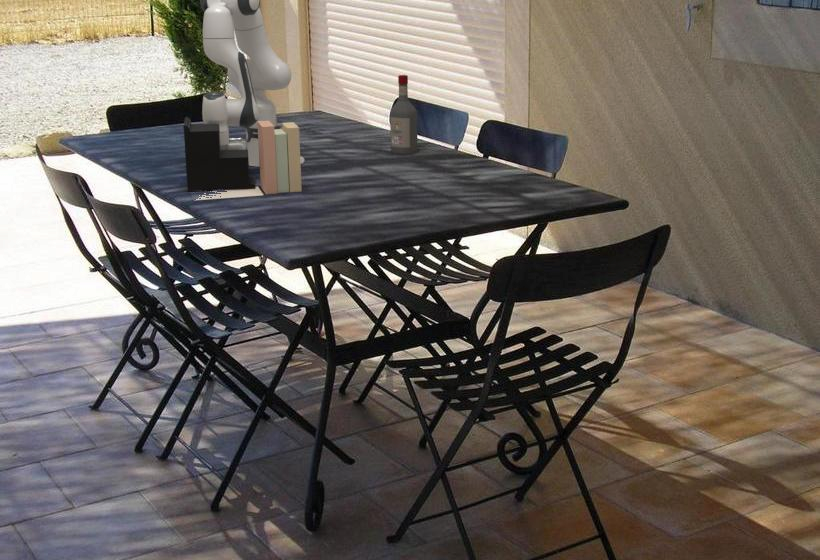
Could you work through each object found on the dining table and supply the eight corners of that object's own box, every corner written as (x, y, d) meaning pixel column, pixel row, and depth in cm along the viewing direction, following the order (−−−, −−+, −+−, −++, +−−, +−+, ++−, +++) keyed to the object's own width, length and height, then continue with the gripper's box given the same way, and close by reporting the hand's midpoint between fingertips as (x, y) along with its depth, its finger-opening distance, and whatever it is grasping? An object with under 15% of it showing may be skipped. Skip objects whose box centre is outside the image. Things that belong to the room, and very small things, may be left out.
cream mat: (257, 187, 424) (257, 186, 424) (264, 196, 411) (263, 195, 411) (188, 192, 418) (188, 191, 418) (192, 201, 405) (192, 200, 405)
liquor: (407, 155, 472) (406, 77, 463) (388, 153, 477) (386, 76, 468) (420, 151, 479) (419, 75, 471) (401, 149, 484) (399, 73, 475)
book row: (295, 184, 426) (293, 119, 419) (301, 191, 415) (299, 124, 408) (260, 187, 423) (257, 121, 416) (265, 194, 412) (262, 126, 405)
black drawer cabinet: (255, 179, 430) (252, 114, 420) (255, 189, 420) (252, 123, 410) (188, 181, 427) (183, 116, 418) (187, 191, 417) (181, 125, 408)
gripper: (245, 135, 432) (247, 174, 436) (186, 139, 427) (189, 177, 431) (247, 138, 426) (249, 177, 430) (188, 142, 421) (191, 181, 425)
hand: (219, 177), depth 430 cm, fingers closed
